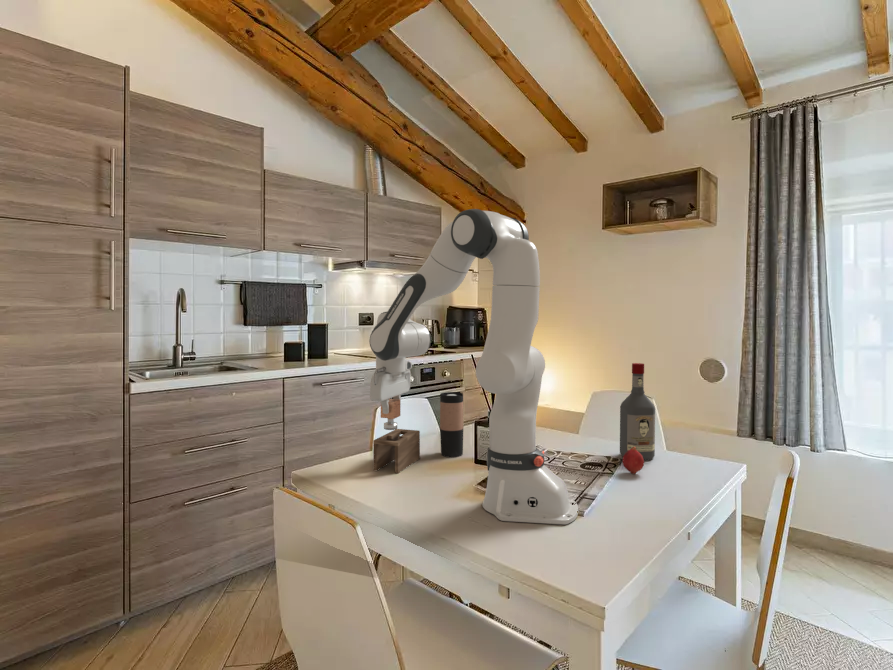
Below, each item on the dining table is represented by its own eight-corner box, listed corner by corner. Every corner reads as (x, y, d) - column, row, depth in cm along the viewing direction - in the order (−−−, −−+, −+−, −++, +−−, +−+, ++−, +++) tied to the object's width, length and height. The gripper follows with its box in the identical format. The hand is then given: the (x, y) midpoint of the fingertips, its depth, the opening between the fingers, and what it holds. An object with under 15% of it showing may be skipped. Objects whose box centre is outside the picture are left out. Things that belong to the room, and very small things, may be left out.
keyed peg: (400, 427, 157) (400, 399, 157) (394, 430, 153) (394, 401, 153) (387, 426, 159) (387, 398, 158) (380, 429, 155) (380, 400, 154)
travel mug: (437, 452, 174) (437, 392, 173) (459, 450, 176) (458, 391, 175) (444, 458, 166) (443, 396, 165) (466, 456, 169) (466, 395, 168)
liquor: (617, 453, 171) (618, 362, 170) (643, 452, 172) (644, 362, 171) (629, 461, 162) (630, 365, 161) (657, 460, 163) (659, 365, 162)
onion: (622, 476, 148) (622, 448, 148) (622, 470, 153) (622, 443, 153) (644, 478, 146) (644, 449, 146) (643, 472, 152) (643, 444, 151)
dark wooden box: (419, 458, 166) (419, 430, 166) (398, 473, 151) (397, 442, 151) (397, 456, 169) (396, 428, 169) (373, 470, 154) (373, 440, 154)
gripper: (384, 369, 144) (384, 419, 145) (414, 362, 163) (414, 406, 164) (364, 368, 146) (364, 417, 147) (396, 361, 165) (396, 404, 166)
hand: (390, 411), depth 156 cm, fingers closed on keyed peg, 4 cm apart
